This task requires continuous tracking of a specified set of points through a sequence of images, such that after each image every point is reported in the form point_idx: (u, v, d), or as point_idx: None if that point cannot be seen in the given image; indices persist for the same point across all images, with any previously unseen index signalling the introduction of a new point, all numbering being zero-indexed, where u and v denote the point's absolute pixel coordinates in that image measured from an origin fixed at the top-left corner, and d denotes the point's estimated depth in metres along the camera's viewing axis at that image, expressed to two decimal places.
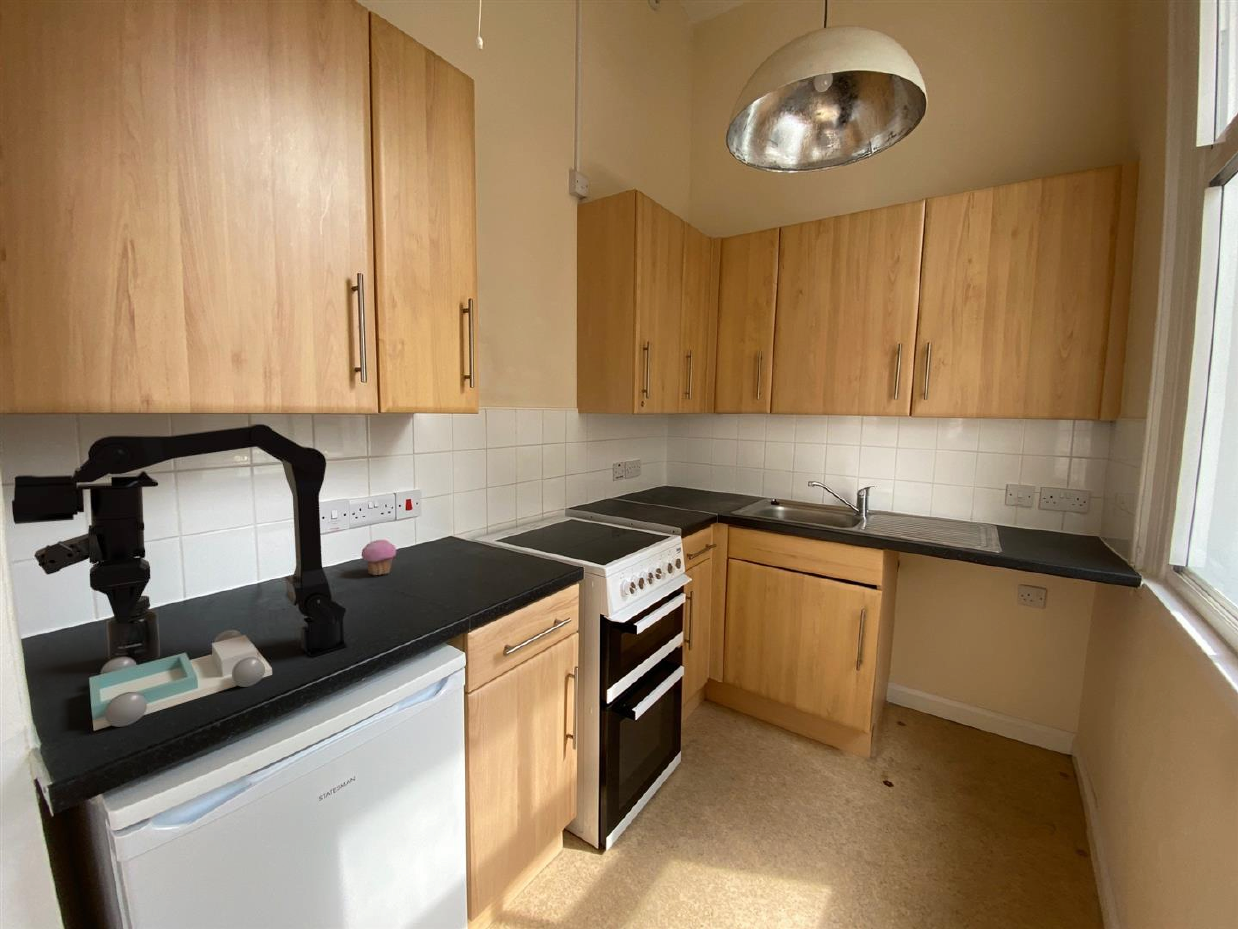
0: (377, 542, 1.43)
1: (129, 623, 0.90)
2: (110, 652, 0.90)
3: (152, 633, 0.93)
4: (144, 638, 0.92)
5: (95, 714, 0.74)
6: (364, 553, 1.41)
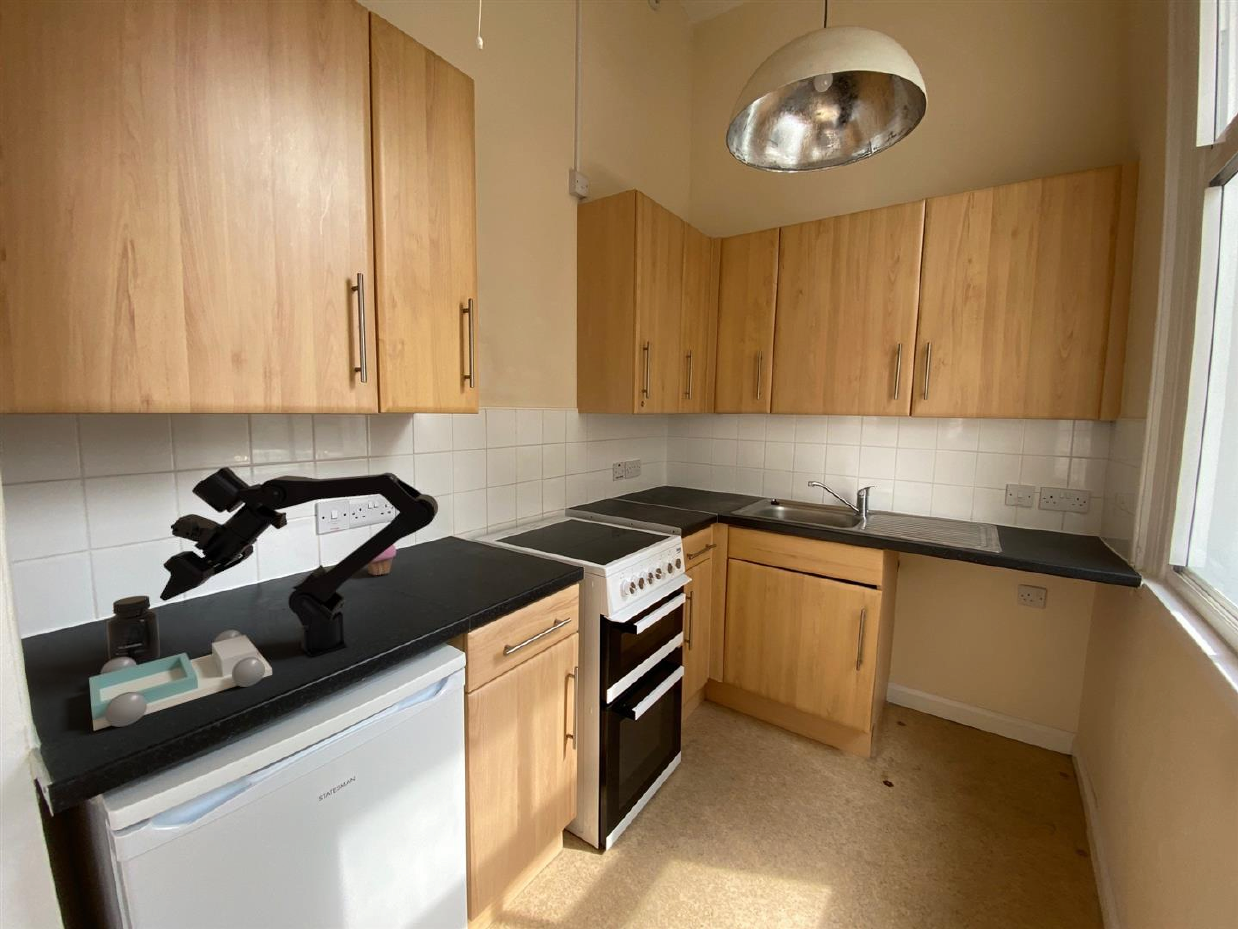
0: None
1: (129, 623, 0.90)
2: (110, 652, 0.90)
3: (152, 633, 0.93)
4: (144, 638, 0.92)
5: (95, 714, 0.74)
6: None
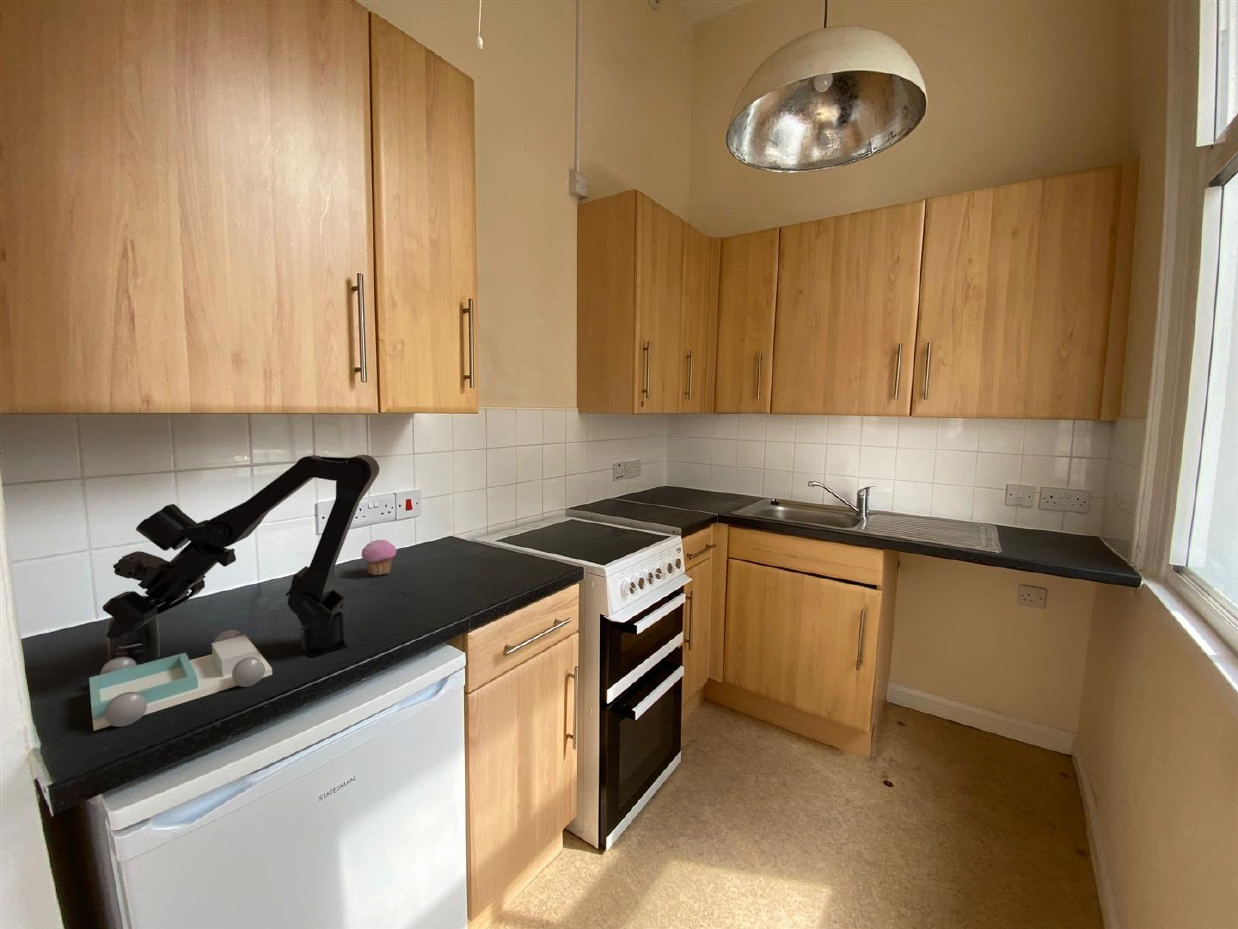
0: (377, 542, 1.43)
1: None
2: (110, 652, 0.90)
3: (152, 633, 0.93)
4: (144, 638, 0.92)
5: (95, 714, 0.74)
6: (364, 553, 1.41)
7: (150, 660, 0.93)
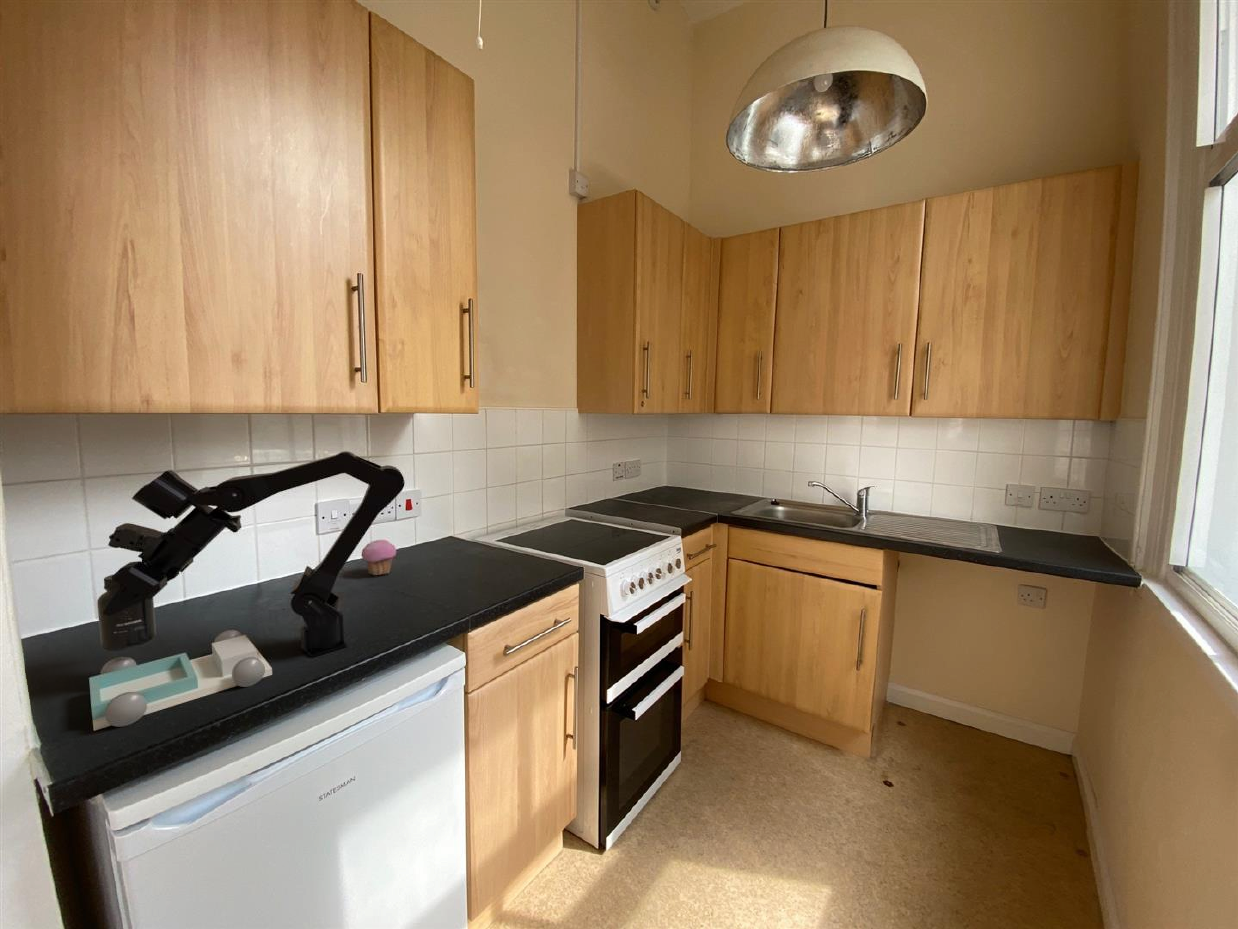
0: (377, 542, 1.43)
1: None
2: (105, 632, 0.83)
3: (150, 609, 0.87)
4: (144, 614, 0.86)
5: (95, 714, 0.74)
6: (364, 553, 1.41)
7: (150, 638, 0.87)
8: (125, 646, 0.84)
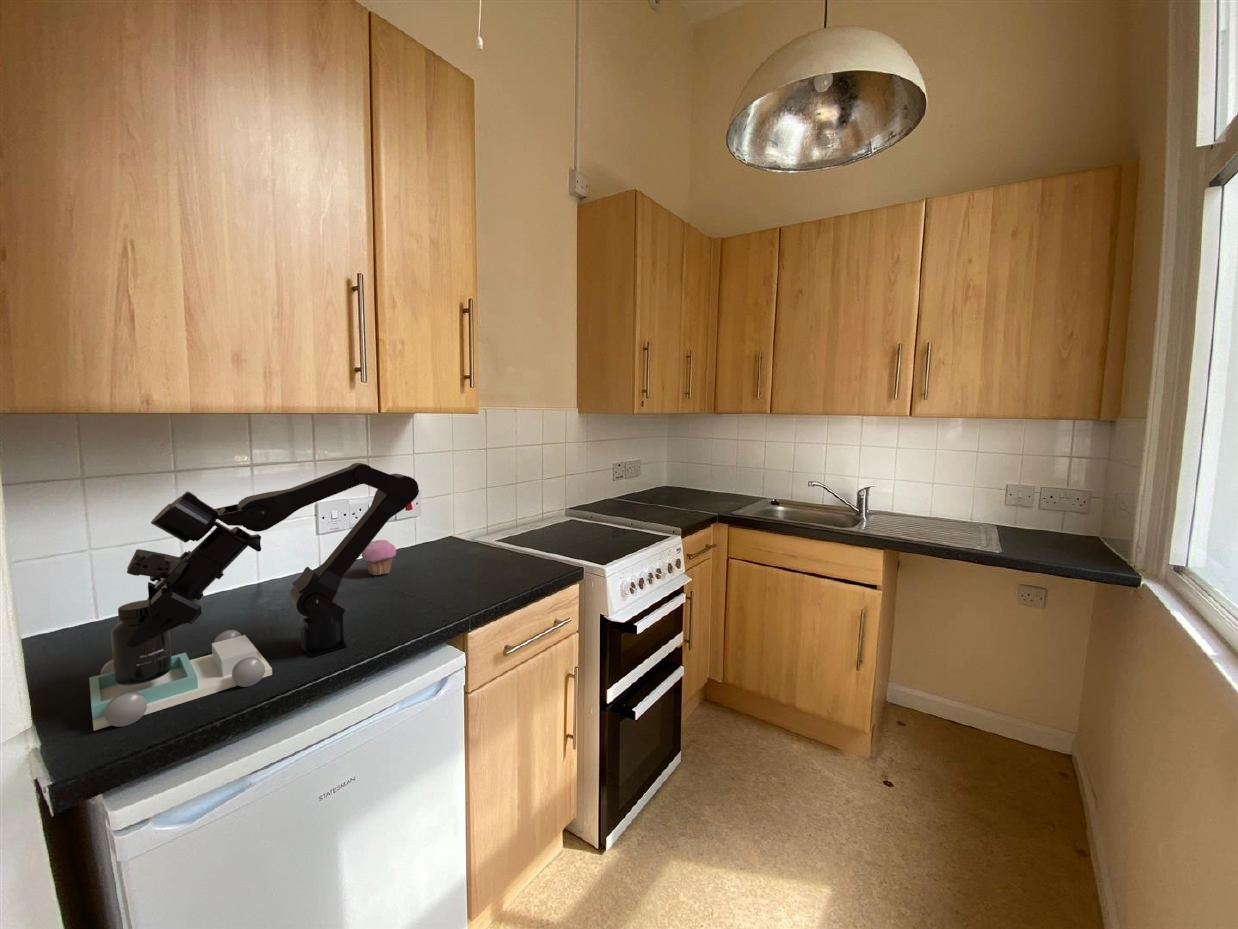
0: (377, 542, 1.43)
1: None
2: (126, 665, 0.79)
3: (169, 637, 0.84)
4: (165, 643, 0.83)
5: (95, 714, 0.74)
6: (364, 553, 1.41)
7: (170, 667, 0.84)
8: (149, 678, 0.80)
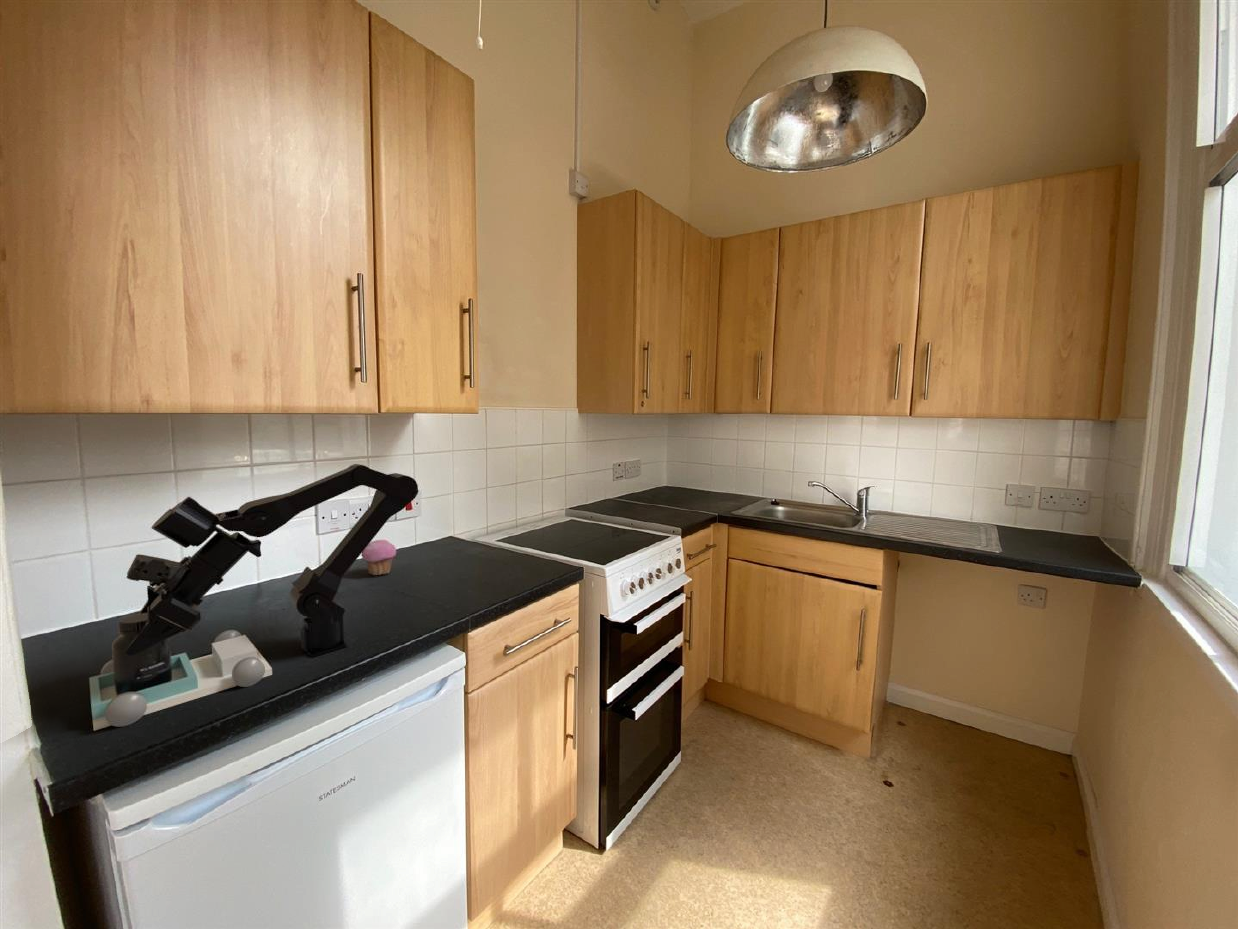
0: (377, 542, 1.43)
1: None
2: (126, 678, 0.79)
3: (169, 650, 0.84)
4: (166, 656, 0.83)
5: (95, 714, 0.74)
6: (364, 553, 1.41)
7: (170, 680, 0.84)
8: None
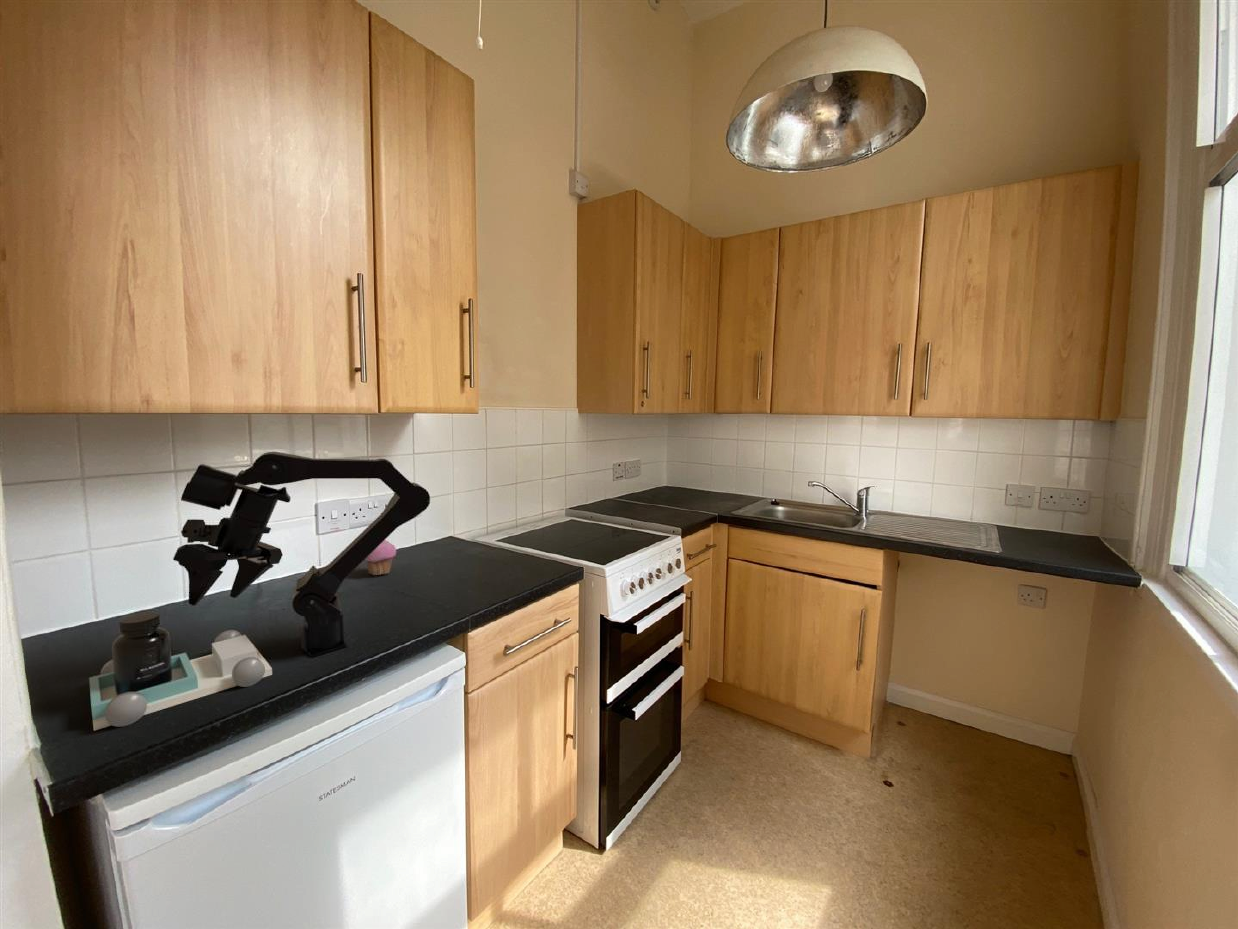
0: None
1: (152, 641, 0.81)
2: (126, 678, 0.79)
3: (170, 650, 0.84)
4: (166, 656, 0.83)
5: (95, 714, 0.74)
6: None
7: (170, 680, 0.84)
8: None
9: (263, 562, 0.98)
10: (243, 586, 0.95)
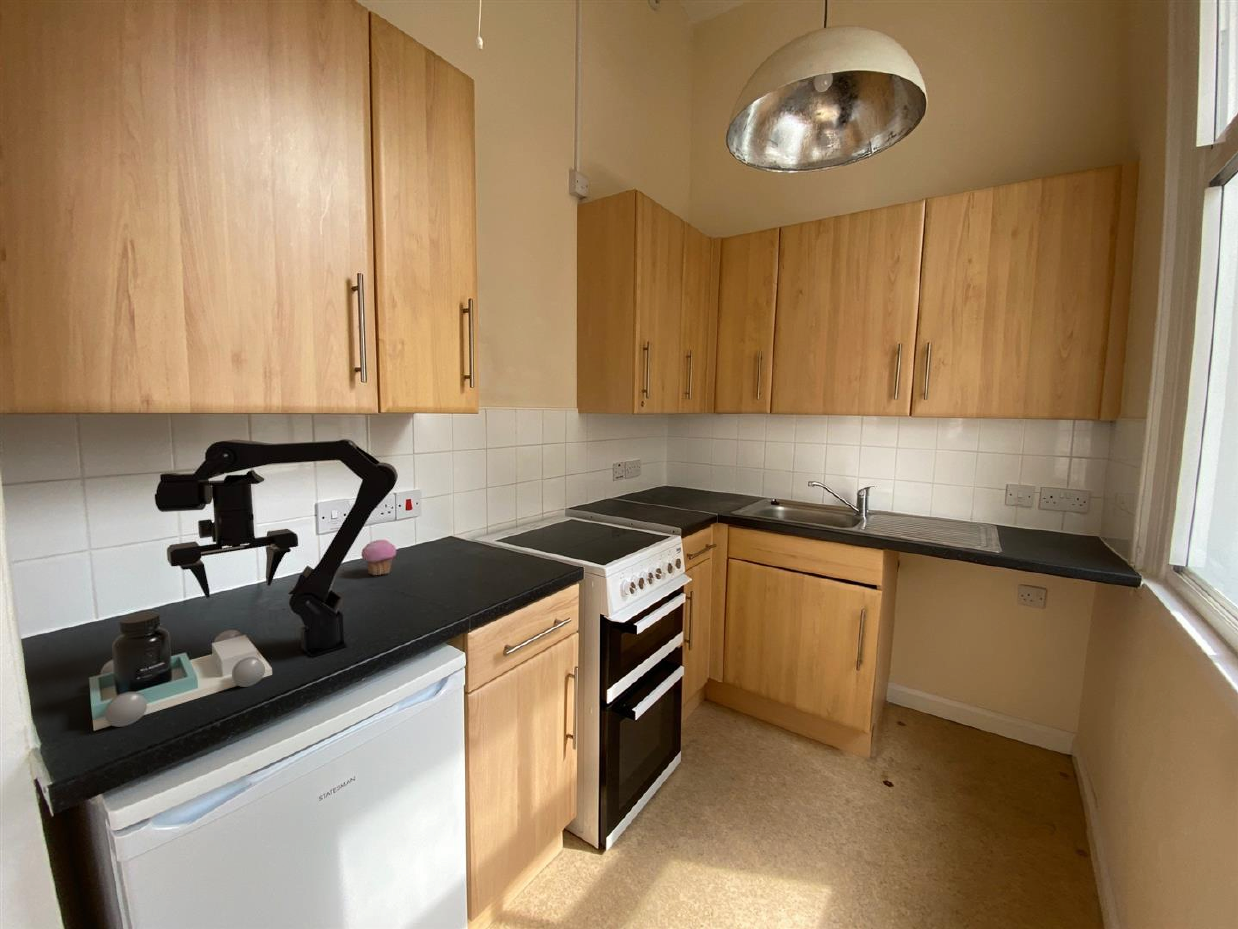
0: (377, 542, 1.43)
1: (152, 641, 0.81)
2: (126, 678, 0.79)
3: (170, 650, 0.84)
4: (166, 656, 0.83)
5: (95, 714, 0.74)
6: (364, 553, 1.41)
7: (170, 680, 0.84)
8: None
9: None
10: (268, 574, 0.97)
